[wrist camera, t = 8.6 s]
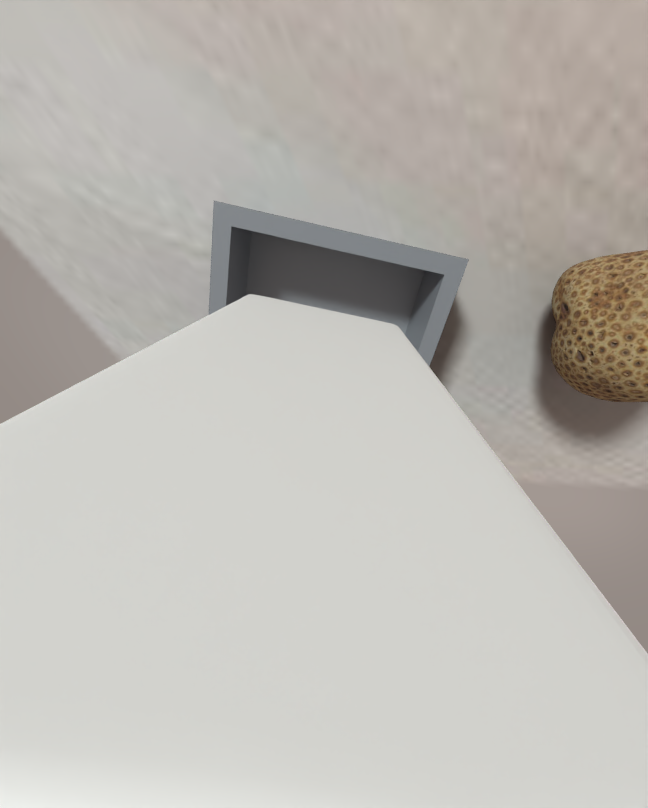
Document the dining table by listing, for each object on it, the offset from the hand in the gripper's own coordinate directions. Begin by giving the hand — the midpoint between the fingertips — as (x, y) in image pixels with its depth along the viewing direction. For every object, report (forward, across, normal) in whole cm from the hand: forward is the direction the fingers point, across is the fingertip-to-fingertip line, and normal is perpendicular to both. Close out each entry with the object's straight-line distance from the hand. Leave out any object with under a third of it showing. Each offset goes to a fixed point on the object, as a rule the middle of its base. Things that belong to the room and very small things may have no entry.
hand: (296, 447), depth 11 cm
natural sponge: (+16, -18, -6) cm, 25 cm away
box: (+16, 0, 0) cm, 16 cm away
